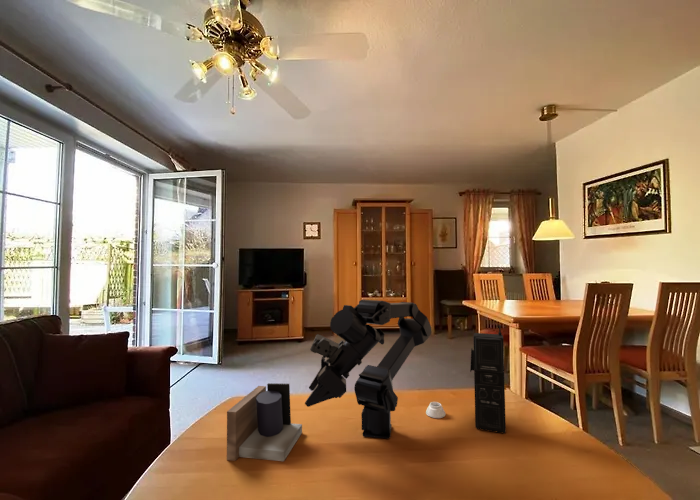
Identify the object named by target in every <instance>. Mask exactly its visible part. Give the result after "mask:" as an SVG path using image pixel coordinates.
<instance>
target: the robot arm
mask: <svg viewBox="0 0 700 500" xmlns="http://www.w3.org/2000/svg"><path fill="white" fill-rule="evenodd" d="M342 307H343V308H342V309H341V310H338V311H337V312H336V313H335V314H334V315H333V316H332V317H331V319H330V323H329V324H330V325H329V327H330V330H331V331H332V333H334V335H335V334H336V335H337V336H338V337H339V338H341V339H342V340H340V341H339V342H335V341H334V340H332V339H330V338H327V337H326V336H324V335H321V334H315V337H314V339H313V341H312V343H311V346H310V350H309V351H310V352H312V353H314V354H318V355H321V360H320V368H319V370H318V371H317V374H315V376H314V378H313V380H312V381H311V383H310V385H309V386H308V388H309V390H310V391H311V393H310V394H309V396H308V397H307V399H306V400H305V402H304V405H305V406H306V407H307V408H310V407H311V406H315V405H317V404H320V403H322V402H325V401H329V400H332V399H338V398H339V399H341V398H342V397H343V396H344V394H346V393H347V379H348V378H349V377H350V372H351V371H352V370H354V368H355V367H356V366H357V365H358V366H360V365H361V364H362V363H363V362H362V360H363V359H364V358H365V357H366V355H368V353H370V352H371V351H372V350H373V349H374V347H375V346H376V345H377V344H378V343H379V344H380V345H384V344H385V332H384V331H383V330H382V329H380V328H374V327H373V326H372V325H379V326H384V325H386V324H388V323H389V322H390V321H391V319H398V320H397V326H398V329H399V334H400V335H399V336H398V338H397V339H396V341H395V342H393V344H392V345H391V347H390V349H389V350H388V351H387V352H386V354H385V355H384V356H383V357H382V359H381V360H380V362H379V363H378V364H377V366H376V365H370V364H367V365H366V366H365V367H364V369H363V370H362V372H360V373H359V374H358V376H359V377H358V378H357V380H356V381H355V383H354V388H353V389H354V394H355V398H356V402H357V405H359V406H363V408H362V411H361V414H360V415H361V430H362V437H367V438H376V439H390V438H391V436H392V435H391V433H392V425H393V424H392V422H391V412H395V411H396V408H397V406H398V401H399V398H398V397H399V396H397V394H396V392H395V391H394V385H393V380H394V378H395V377H396V375H397V373H398V372H399V370H400V369H401V368H402V366H403V365H404V364H405V361H406V360H407V359H408V358H409V356H410V354H411V353H412V352H413V350H414V349H415V348H416V347H418V346H420V345H423V344H424V343H425V342H426V341H428V339H429V338H430V336H431V334H432V326H431V323H430V321H429V318H428V316H426V315H425V313H423V312H422V311H421V310H420V309H419V307H418V305H417V303H414V302H409V301H408V302H407V301H400V302H388V301H386V300H378V299H377V300H376V299H360V300H359V301H358V304H357V305H356V306H352V305H349V304H344V305H343V306H342ZM410 317H411V318H410Z"/></svg>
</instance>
